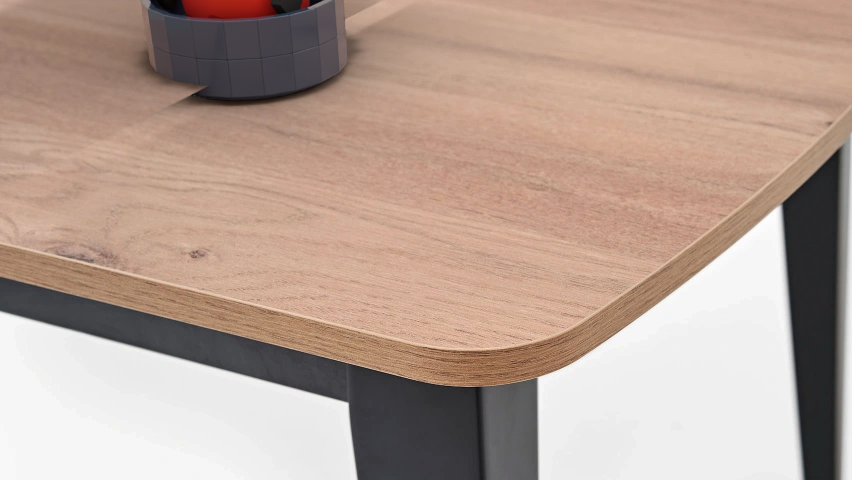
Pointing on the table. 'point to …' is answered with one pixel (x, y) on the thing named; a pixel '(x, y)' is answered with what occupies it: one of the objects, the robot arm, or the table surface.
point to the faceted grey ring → (248, 49)
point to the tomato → (231, 8)
